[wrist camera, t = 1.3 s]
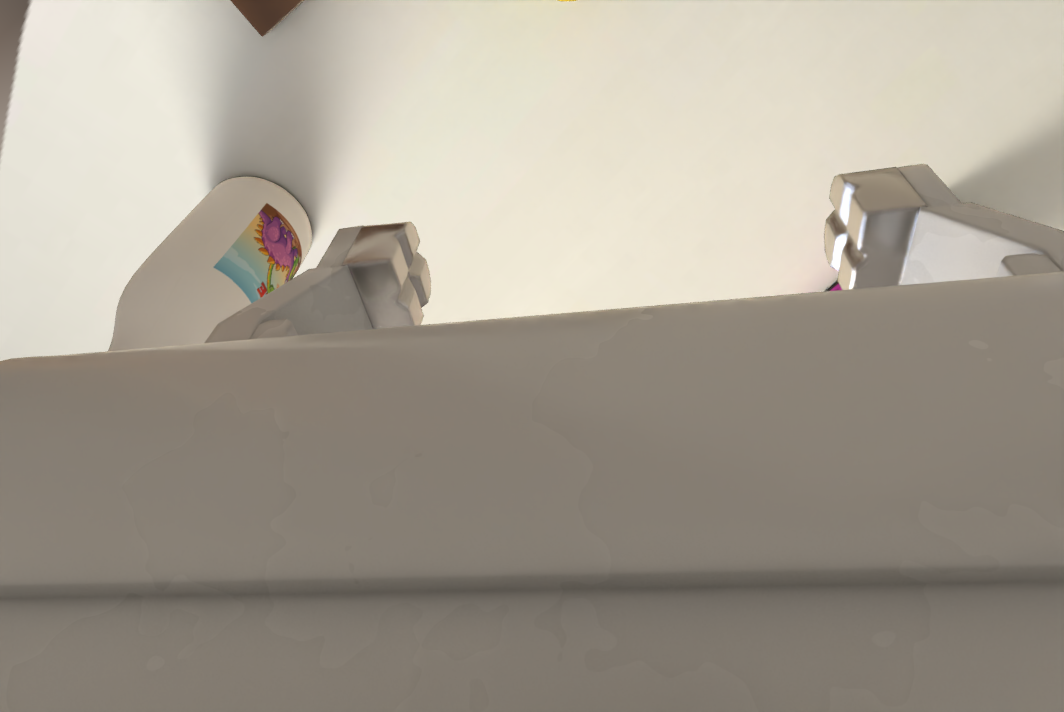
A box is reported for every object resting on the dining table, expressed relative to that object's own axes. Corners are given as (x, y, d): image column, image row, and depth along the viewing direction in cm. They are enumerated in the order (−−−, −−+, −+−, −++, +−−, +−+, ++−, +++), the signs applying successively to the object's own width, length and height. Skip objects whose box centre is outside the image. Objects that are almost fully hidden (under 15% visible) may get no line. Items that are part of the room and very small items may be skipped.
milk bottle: (210, 246, 50) (45, 442, 35) (209, 157, 45) (17, 341, 30) (310, 276, 52) (191, 478, 37) (319, 193, 47) (187, 387, 32)
